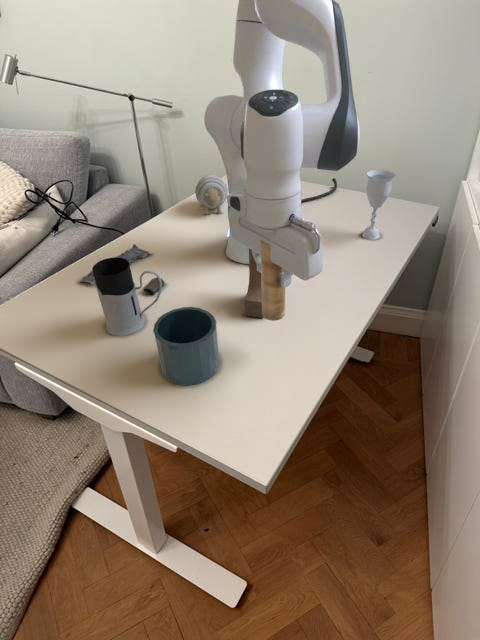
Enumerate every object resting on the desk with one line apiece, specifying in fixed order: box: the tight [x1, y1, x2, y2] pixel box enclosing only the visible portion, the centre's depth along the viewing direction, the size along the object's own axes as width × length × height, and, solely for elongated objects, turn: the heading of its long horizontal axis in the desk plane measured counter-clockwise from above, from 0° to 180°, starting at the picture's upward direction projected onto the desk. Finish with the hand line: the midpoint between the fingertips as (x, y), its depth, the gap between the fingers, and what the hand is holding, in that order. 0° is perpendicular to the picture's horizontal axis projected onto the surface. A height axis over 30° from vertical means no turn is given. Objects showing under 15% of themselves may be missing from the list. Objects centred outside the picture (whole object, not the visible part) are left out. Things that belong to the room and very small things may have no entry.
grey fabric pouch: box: [79, 243, 151, 285], centre depth 118 cm, size 21×7×2 cm, turn 144°
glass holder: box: [91, 256, 163, 337], centre depth 94 cm, size 9×14×15 cm, turn 88°
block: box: [142, 276, 166, 295], centre depth 109 cm, size 4×6×2 cm, turn 163°
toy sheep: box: [194, 174, 229, 215], centre depth 142 cm, size 11×17×11 cm, turn 10°
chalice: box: [361, 169, 396, 241], centre depth 121 cm, size 7×7×18 cm
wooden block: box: [243, 249, 264, 319], centre depth 96 cm, size 9×4×18 cm, turn 163°
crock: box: [152, 306, 220, 386], centre depth 84 cm, size 12×12×10 cm
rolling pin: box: [260, 240, 286, 322], centre depth 78 cm, size 4×4×16 cm
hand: (273, 278), depth 78 cm, fingers closed on rolling pin, 4 cm apart
